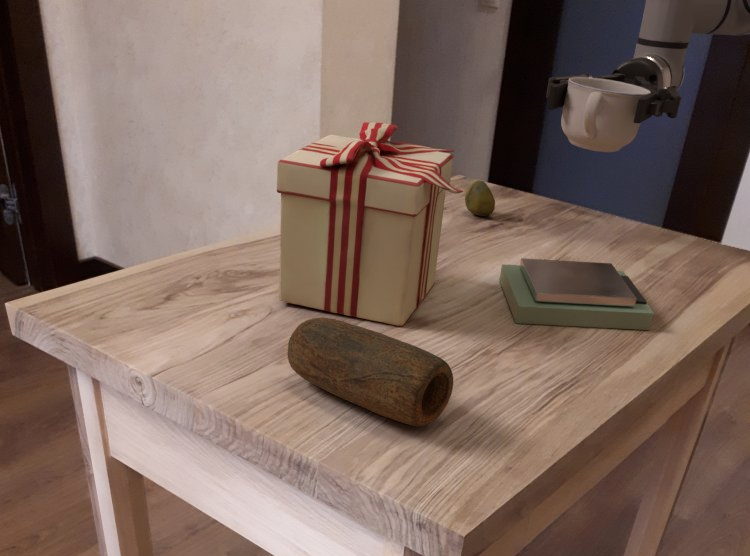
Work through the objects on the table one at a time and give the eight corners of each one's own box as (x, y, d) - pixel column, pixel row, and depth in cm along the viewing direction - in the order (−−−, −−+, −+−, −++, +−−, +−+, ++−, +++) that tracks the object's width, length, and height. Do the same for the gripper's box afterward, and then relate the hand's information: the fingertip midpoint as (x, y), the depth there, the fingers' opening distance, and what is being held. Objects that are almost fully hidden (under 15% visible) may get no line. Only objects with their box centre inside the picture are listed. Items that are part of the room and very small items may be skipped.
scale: (619, 286, 98) (624, 268, 97) (650, 330, 88) (655, 310, 86) (499, 280, 98) (502, 261, 96) (515, 323, 87) (519, 303, 86)
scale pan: (609, 271, 96) (611, 263, 95) (634, 307, 87) (637, 298, 86) (519, 266, 95) (521, 258, 95) (535, 301, 87) (537, 292, 86)
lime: (467, 209, 121) (471, 174, 118) (498, 214, 120) (503, 180, 117) (458, 216, 118) (462, 181, 115) (489, 222, 117) (494, 186, 114)
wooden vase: (458, 414, 70) (468, 344, 66) (415, 446, 65) (423, 373, 61) (324, 362, 77) (326, 296, 73) (276, 388, 72) (275, 318, 68)
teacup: (577, 135, 115) (588, 73, 111) (648, 148, 110) (664, 84, 106) (532, 149, 106) (543, 82, 101) (608, 165, 101) (623, 95, 96)
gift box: (441, 334, 83) (461, 161, 73) (273, 309, 86) (271, 139, 76) (462, 279, 97) (482, 126, 87) (317, 258, 100) (320, 108, 90)
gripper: (710, 125, 115) (677, 151, 100) (558, 102, 124) (505, 122, 108) (727, 67, 111) (695, 84, 95) (567, 47, 120) (514, 60, 104)
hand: (594, 104), depth 102 cm, fingers closed on teacup, 11 cm apart
